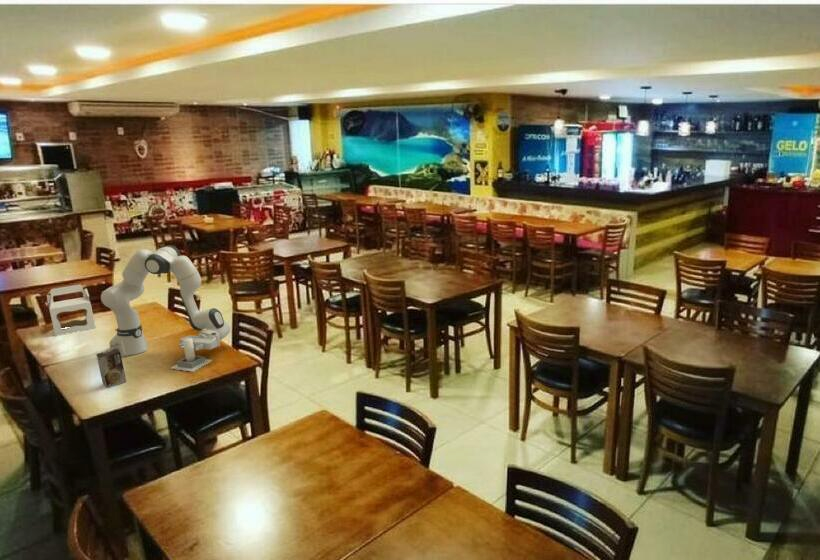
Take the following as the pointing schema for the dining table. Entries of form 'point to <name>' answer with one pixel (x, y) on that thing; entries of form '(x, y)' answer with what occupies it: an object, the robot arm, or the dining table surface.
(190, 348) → the peg
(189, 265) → the robot arm
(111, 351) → the coffee box
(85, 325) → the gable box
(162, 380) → the dining table surface
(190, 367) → the socket
